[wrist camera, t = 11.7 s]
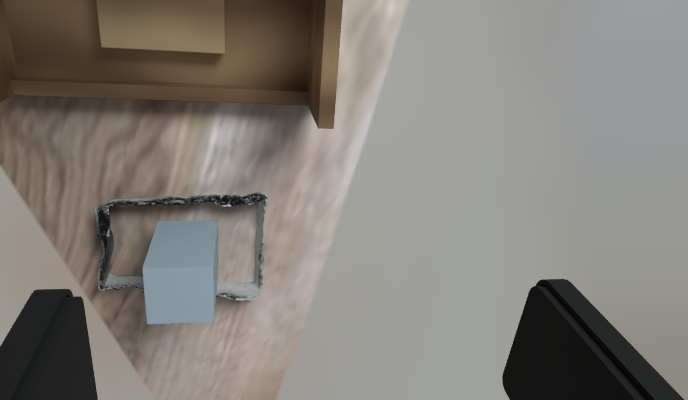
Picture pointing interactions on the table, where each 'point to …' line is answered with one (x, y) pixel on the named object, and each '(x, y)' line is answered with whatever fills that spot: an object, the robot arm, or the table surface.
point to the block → (181, 272)
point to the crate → (174, 51)
